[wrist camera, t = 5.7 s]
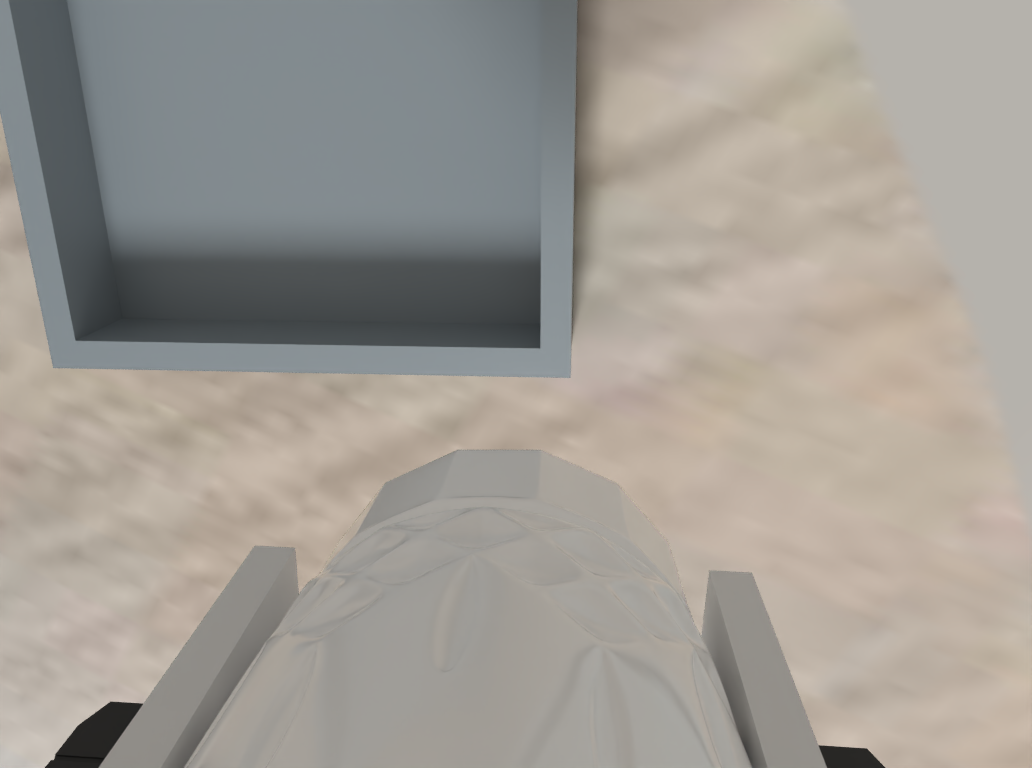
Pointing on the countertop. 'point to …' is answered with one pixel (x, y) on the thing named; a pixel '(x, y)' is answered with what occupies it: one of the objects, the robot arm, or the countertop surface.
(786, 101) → the countertop surface
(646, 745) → the white cup
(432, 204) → the bin
